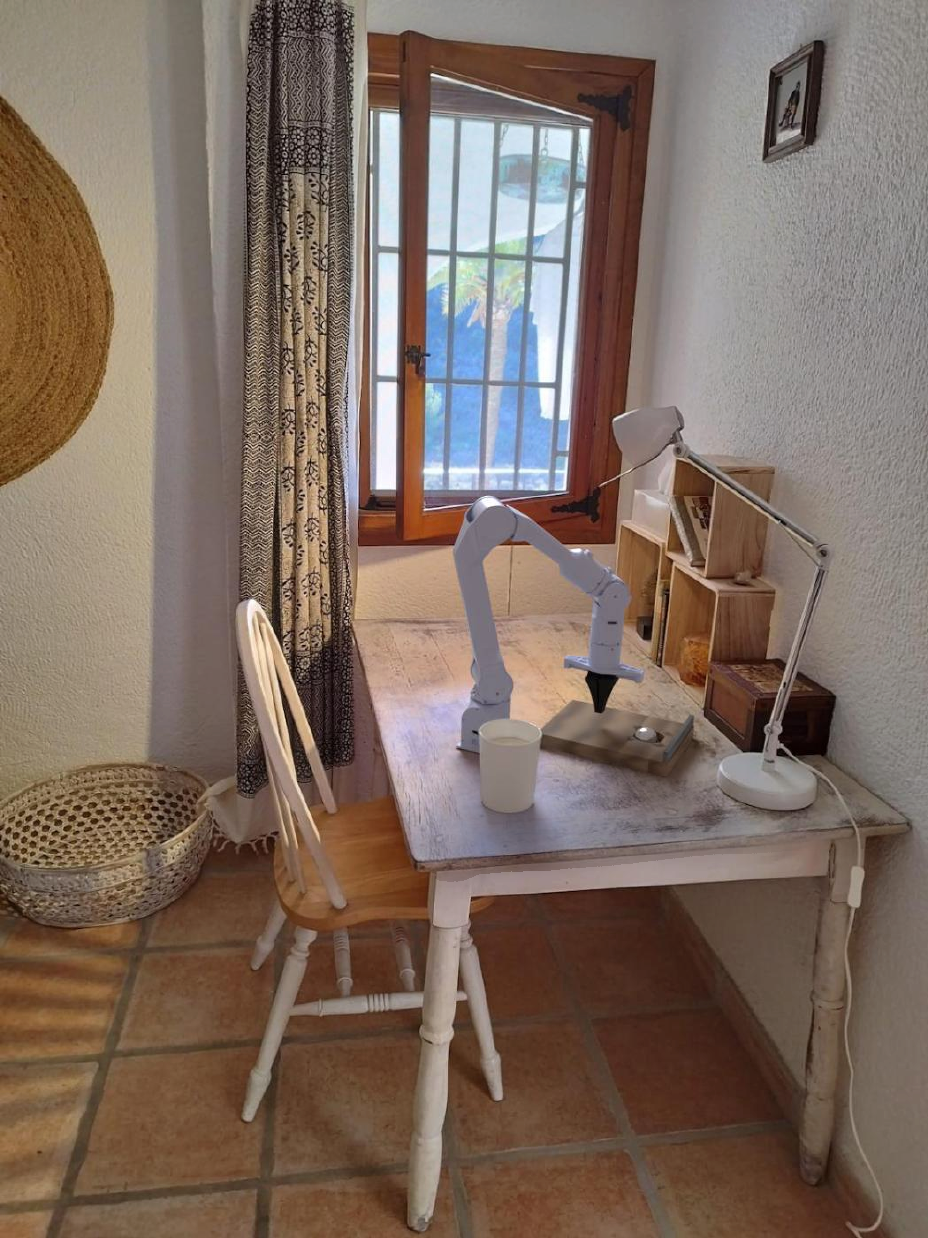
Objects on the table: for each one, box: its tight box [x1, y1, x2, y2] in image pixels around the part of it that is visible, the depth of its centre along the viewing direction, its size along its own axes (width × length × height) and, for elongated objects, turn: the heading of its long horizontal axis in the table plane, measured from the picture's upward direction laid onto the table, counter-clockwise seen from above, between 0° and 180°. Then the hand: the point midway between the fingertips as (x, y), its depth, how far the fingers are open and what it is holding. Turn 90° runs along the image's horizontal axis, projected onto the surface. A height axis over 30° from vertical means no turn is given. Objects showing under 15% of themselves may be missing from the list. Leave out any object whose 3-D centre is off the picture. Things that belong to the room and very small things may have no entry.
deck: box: [540, 699, 695, 778], centre depth 163 cm, size 24×18×4 cm
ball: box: [634, 727, 657, 743], centre depth 160 cm, size 4×4×4 cm
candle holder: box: [479, 718, 542, 814], centre depth 140 cm, size 10×10×12 cm
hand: (599, 711), depth 163 cm, fingers closed
